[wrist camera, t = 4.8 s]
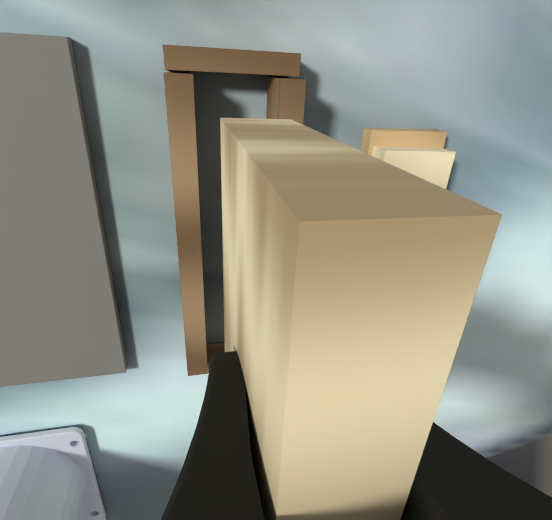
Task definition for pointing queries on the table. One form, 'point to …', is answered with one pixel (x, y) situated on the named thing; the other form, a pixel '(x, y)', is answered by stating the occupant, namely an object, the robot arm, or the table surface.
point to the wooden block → (340, 313)
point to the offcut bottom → (402, 138)
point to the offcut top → (419, 161)
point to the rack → (183, 150)
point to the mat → (50, 224)
